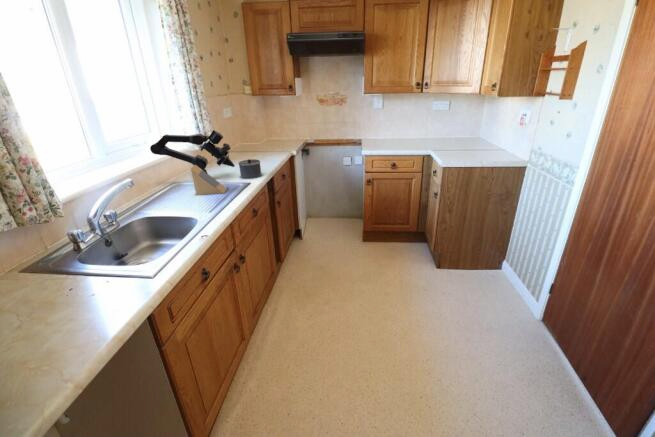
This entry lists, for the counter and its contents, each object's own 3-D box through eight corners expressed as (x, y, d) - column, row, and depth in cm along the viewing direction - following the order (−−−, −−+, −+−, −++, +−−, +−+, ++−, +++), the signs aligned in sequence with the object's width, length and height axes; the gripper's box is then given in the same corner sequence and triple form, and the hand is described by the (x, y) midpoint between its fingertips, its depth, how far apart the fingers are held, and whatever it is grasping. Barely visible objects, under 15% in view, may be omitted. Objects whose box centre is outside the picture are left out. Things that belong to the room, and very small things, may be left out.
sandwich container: (224, 193, 177) (219, 166, 171) (196, 195, 176) (190, 168, 170) (227, 188, 185) (223, 162, 179) (200, 190, 184) (195, 164, 178)
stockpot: (236, 178, 203) (233, 161, 198) (246, 172, 215) (244, 156, 210) (256, 179, 199) (253, 162, 195) (265, 173, 211) (263, 156, 207)
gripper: (219, 142, 187) (241, 160, 193) (223, 137, 204) (243, 153, 210) (207, 157, 189) (229, 173, 195) (212, 150, 206) (232, 166, 212)
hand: (234, 166), depth 203 cm, fingers closed
